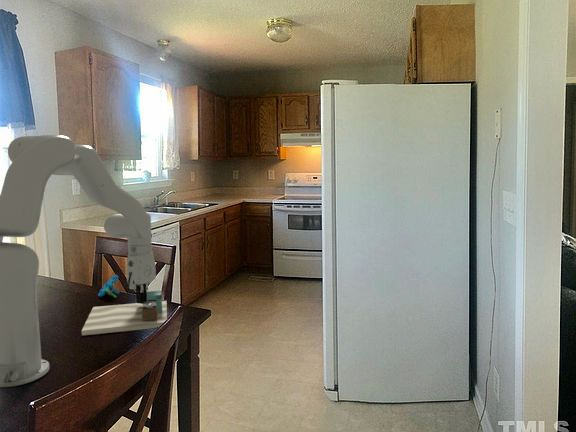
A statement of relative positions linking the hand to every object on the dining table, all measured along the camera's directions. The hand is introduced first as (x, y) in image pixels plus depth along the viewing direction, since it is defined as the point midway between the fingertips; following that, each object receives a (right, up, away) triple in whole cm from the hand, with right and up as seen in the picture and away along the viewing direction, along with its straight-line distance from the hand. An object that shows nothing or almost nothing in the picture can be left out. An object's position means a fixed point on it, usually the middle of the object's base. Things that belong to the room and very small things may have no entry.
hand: (141, 302), depth 149 cm
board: (-2, -4, -7) cm, 8 cm away
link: (+5, -1, -6) cm, 8 cm away
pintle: (+7, -3, -12) cm, 14 cm away
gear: (-19, -1, +18) cm, 26 cm away
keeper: (+6, -2, -4) cm, 7 cm away
